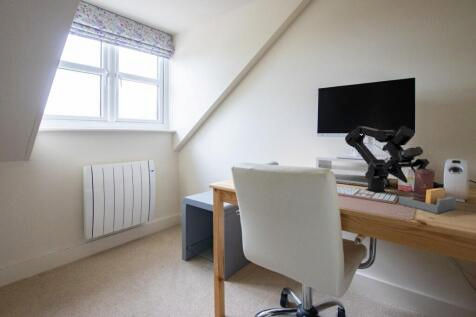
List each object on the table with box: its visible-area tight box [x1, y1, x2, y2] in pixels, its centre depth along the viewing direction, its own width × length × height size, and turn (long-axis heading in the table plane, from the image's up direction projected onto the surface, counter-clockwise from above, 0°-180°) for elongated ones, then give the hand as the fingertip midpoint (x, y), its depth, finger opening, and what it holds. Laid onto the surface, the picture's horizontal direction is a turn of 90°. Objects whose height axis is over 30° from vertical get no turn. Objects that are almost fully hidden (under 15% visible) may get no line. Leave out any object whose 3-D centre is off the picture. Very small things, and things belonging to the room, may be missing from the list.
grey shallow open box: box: [398, 196, 457, 215], centre depth 100 cm, size 14×12×5 cm
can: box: [412, 168, 436, 203], centre depth 102 cm, size 6×6×14 cm
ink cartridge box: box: [397, 167, 415, 193], centre depth 127 cm, size 9×5×15 cm, turn 111°
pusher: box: [426, 187, 446, 205], centre depth 97 cm, size 2×9×7 cm, turn 114°
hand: (416, 181), depth 104 cm, fingers open, 9 cm apart
